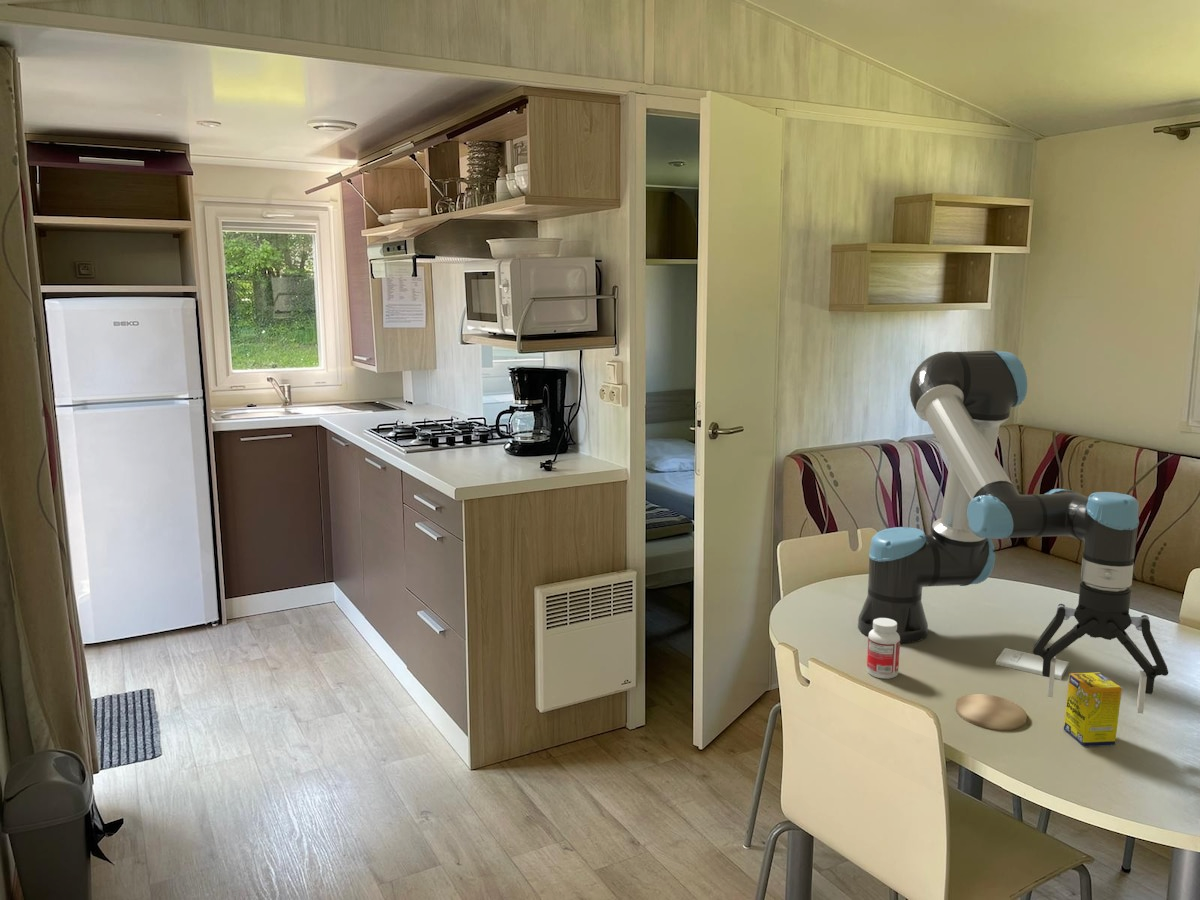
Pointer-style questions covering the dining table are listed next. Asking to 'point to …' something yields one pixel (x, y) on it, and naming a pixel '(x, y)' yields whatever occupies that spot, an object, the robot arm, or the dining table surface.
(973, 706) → the disc
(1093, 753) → the dining table surface
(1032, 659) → the external hard drive
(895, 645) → the pill bottle
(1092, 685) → the supplement box
